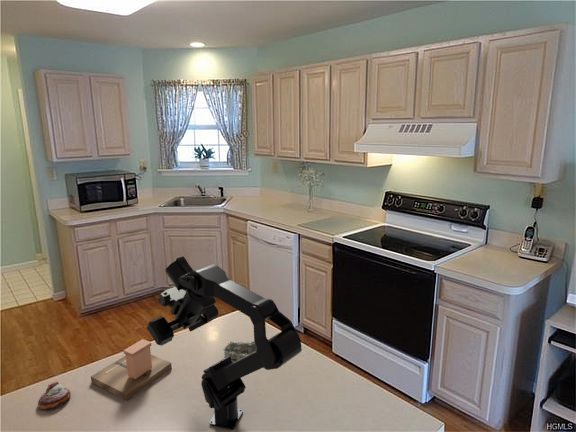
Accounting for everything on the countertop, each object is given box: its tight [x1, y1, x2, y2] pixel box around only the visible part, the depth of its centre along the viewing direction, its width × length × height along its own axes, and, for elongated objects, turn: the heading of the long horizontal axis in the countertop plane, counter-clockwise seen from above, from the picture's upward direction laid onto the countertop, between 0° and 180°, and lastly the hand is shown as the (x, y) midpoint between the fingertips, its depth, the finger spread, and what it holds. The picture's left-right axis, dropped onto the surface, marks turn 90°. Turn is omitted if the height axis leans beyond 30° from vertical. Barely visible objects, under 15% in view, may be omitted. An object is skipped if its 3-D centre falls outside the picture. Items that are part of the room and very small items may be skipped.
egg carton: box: [222, 341, 257, 361], centre depth 125 cm, size 11×8×4 cm
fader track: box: [90, 354, 172, 401], centre depth 116 cm, size 15×16×2 cm
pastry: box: [37, 381, 71, 411], centre depth 105 cm, size 8×8×5 cm
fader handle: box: [123, 338, 152, 379], centre depth 113 cm, size 4×7×8 cm, turn 150°
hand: (175, 336), depth 108 cm, fingers open, 9 cm apart
